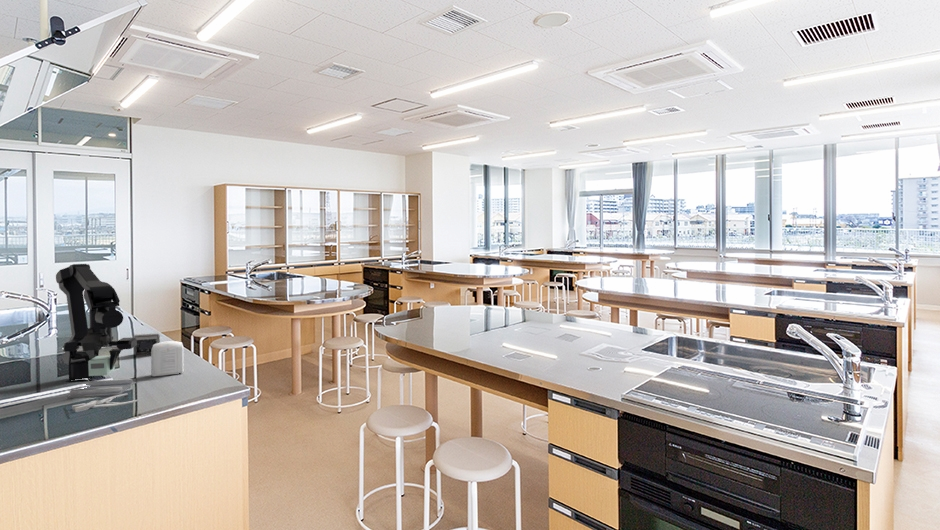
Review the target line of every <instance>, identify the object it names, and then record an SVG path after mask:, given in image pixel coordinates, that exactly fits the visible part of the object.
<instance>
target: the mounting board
mask: <svg viewBox="0 0 940 530" xmlns="http://www.w3.org/2000/svg"><path fill="white" fill-rule="evenodd" d="M83 384H86V385H91V386H90V387H87V388H84V389H80V388H77V389H70V390H69V395H68V396H67V399H68V398H69V399H79V398H80V399H83V397H85V398H99V397H112V396H116V395H120V394H124V392H125V391H126V390H127V389H129V388H130V387H131V386H132V385H133V384H135V381H133V378H121V379H120V378H119V379H100V380H87V381H82V385H83Z"/></svg>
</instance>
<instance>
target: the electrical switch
mask: <svg viewBox="0 0 940 530" xmlns="http://www.w3.org/2000/svg"><path fill="white" fill-rule="evenodd" d="M133 337H134V338H135V339H136V340H137V345H136V346H135V347H133V348H134V355H135V357H145V356H146V357H147V356H151V349H152V347H153V345H154V344H157V343H160V342H161V334H160V333H159V332H154V333H139V334H136V333H135V334H134V335H133ZM133 337H132V338H133Z"/></svg>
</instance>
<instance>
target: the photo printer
mask: <svg viewBox="0 0 940 530" xmlns="http://www.w3.org/2000/svg"><path fill="white" fill-rule="evenodd" d="M184 350H185V349H184V344H183V342H182V341H181V342H180V341H176V340H167V341H160V343H157V344H154V345H153V347H152V349H151V355H150V357H151V358H150V359H151V363H150V364H151V365H150V369H151V370H150V372H151V374H150V375H151V377H161V376H170V375H177V374H178V375H180V374H179V373H181V374H183V373H184V371H185V370H184V369H185V365H184V363H185V354H184V353H185V351H184Z"/></svg>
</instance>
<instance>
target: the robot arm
mask: <svg viewBox="0 0 940 530" xmlns="http://www.w3.org/2000/svg"><path fill="white" fill-rule="evenodd" d="M58 270H59V271H57V272H56V273H55V280H56V281H55V282H56V283H57V284H58V288H59V290H60V291H62V292H63V294H64V295H65V296H66V303H67V308H68V309H67V310H68V318H69V324H70V331H71V335H70V338H69V339H68V341H66V342H65V343H64V344H63V346H62V347H63V348H62V349H63V352H64V353H63V354H64V355H63V356H62V358H63V364H64V365H65V364H66V365H67V366H68V370H67V371H68V379H66V382H67V381H69V382H72V381H71V380H75V379H82V378H90V377H92V378H94V377H93V376H89V366H88V361H89V360H91V359H93V358H94V357H96V356H99V355H100V353H99V351H100V350H101V349H102V348H109V347H110V348H112V349H110V350H108V352H109V356H110V370H112V369H113V367H114V365H116V362H117V361H118V357H119V355H120V354H121V352H122V351H124V350H132V349H133V348H134V347H135V346H136V345H137V340H136V339H135V338H134V337H122V338H120V339H118V340H114V336H113V334H112V332H113V329H115V328H117V327H119V326H120V325H121V324H122V323H123V320H124V315H123V313H122V312H121V311H119V310H117V307H119V306H120V302H121V300H120V297H119V295H118V294H117V291H116V290H115V288H114V287H113V286H112V285H111V284H109V283H108V282H105V281H101V279H99V278H98V276H97V275H96V274H95V273H94V272H93V270H92V269H91V266H90V264H88V263H73V264H70V265H69V266H67V267H64V268H61V269H58ZM85 303H86V305H87V307H88V311H89V312H88V315H89V316H88V317H89V319H88V320H89V325H88V320H87V314H86V313H87V312H86V311H87V310H86V305H85ZM88 326H89V327H88Z"/></svg>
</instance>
